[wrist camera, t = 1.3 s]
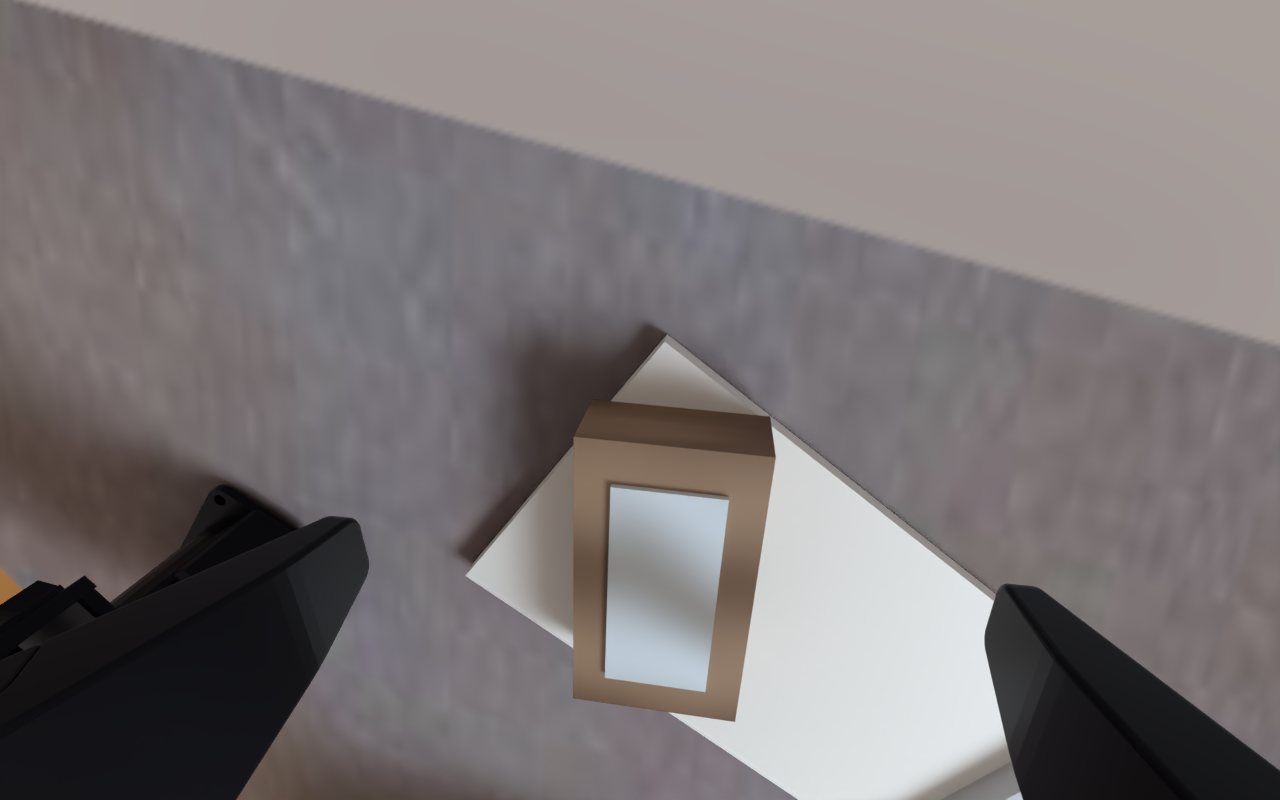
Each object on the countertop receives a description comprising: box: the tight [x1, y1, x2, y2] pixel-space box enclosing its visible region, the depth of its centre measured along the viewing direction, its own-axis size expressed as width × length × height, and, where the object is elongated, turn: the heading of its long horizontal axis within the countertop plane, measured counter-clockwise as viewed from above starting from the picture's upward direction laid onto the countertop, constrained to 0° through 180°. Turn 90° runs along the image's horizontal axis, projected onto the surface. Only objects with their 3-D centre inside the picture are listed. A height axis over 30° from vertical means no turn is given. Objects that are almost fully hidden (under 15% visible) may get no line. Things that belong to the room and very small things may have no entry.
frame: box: [573, 399, 776, 722], centre depth 22 cm, size 11×6×3 cm, turn 178°
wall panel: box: [466, 334, 1023, 800], centre depth 24 cm, size 13×24×2 cm, turn 53°
